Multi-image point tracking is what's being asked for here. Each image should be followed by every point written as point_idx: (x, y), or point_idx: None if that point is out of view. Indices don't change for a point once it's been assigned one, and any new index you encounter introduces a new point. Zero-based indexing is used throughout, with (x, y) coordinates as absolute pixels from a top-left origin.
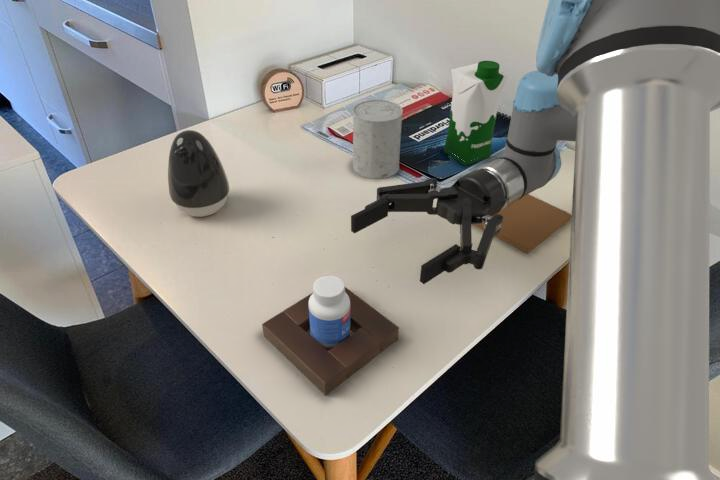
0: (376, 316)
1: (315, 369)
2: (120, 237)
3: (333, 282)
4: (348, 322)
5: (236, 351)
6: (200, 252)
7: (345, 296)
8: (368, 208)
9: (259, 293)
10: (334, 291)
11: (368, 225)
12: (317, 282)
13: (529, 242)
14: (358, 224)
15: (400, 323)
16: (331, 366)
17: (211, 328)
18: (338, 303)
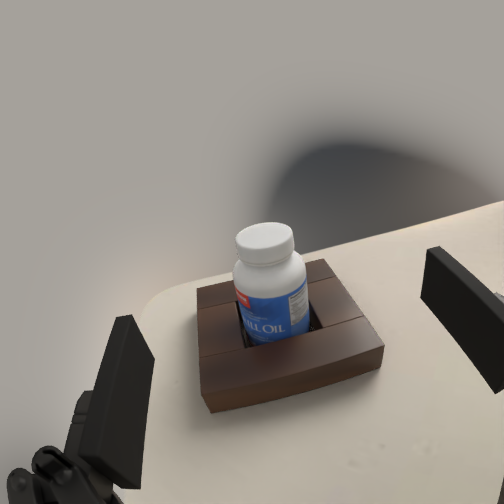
0: (250, 375)
1: (220, 286)
2: (498, 208)
3: (266, 239)
4: (243, 312)
5: (315, 259)
6: (484, 245)
7: (255, 277)
8: (475, 282)
9: (405, 283)
10: (245, 237)
11: (448, 329)
12: (281, 226)
13: None
14: (431, 284)
15: (240, 437)
16: (210, 298)
17: (358, 247)
18: (242, 262)
